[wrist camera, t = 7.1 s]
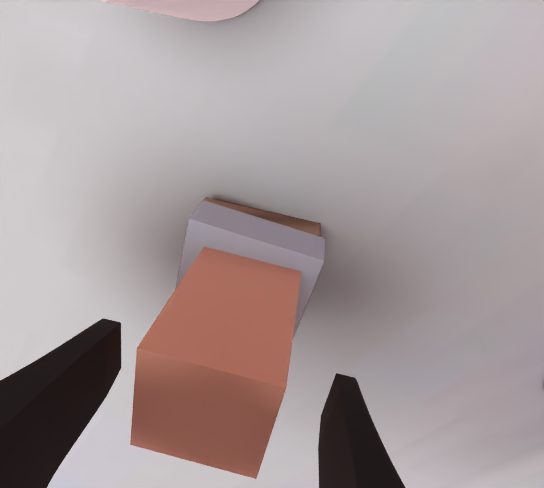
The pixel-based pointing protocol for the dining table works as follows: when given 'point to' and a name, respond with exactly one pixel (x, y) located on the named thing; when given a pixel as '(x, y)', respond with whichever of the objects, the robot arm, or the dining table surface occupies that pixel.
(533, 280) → the dining table surface
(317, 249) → the tower upper
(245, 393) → the brick block
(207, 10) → the can
